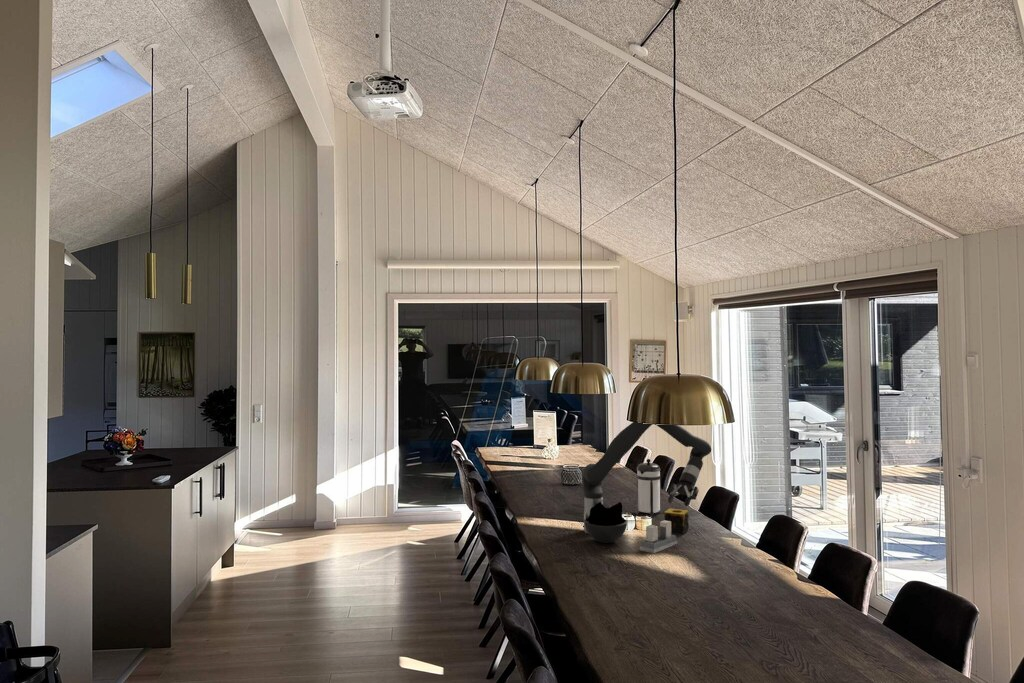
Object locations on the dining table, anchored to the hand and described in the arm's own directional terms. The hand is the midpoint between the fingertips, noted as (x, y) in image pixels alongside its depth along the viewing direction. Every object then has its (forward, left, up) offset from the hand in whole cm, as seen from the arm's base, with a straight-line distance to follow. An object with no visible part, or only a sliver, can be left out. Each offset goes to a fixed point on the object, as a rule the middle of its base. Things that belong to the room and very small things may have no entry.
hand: (677, 503), depth 328 cm
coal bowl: (-35, -3, -17) cm, 39 cm away
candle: (+3, +15, -17) cm, 23 cm away
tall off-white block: (-8, -8, -15) cm, 19 cm away
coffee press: (-2, +53, -17) cm, 56 cm away
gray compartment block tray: (-12, -12, -17) cm, 24 cm away
